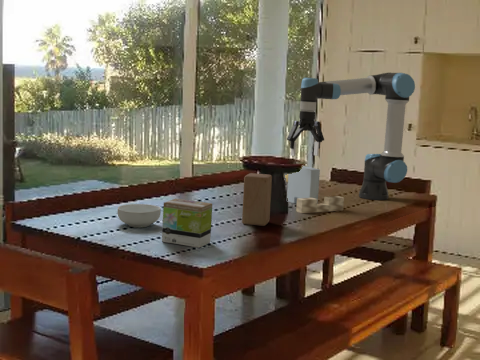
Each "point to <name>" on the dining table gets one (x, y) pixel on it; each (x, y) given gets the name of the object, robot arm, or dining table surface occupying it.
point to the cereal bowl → (139, 214)
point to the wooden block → (256, 199)
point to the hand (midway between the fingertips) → (304, 155)
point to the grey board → (303, 184)
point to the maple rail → (311, 204)
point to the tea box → (187, 222)
